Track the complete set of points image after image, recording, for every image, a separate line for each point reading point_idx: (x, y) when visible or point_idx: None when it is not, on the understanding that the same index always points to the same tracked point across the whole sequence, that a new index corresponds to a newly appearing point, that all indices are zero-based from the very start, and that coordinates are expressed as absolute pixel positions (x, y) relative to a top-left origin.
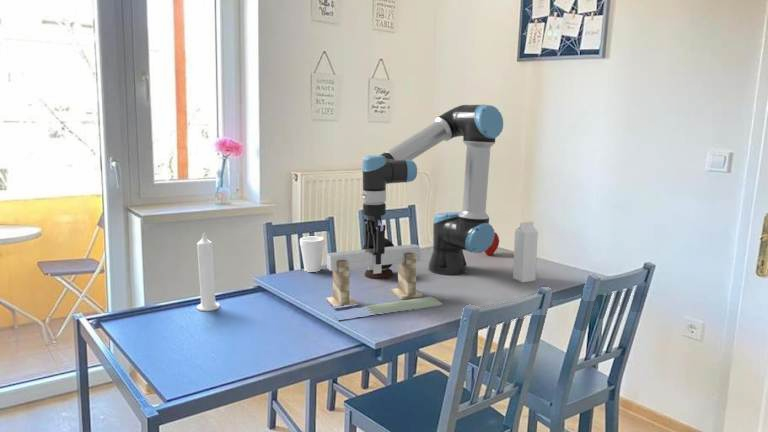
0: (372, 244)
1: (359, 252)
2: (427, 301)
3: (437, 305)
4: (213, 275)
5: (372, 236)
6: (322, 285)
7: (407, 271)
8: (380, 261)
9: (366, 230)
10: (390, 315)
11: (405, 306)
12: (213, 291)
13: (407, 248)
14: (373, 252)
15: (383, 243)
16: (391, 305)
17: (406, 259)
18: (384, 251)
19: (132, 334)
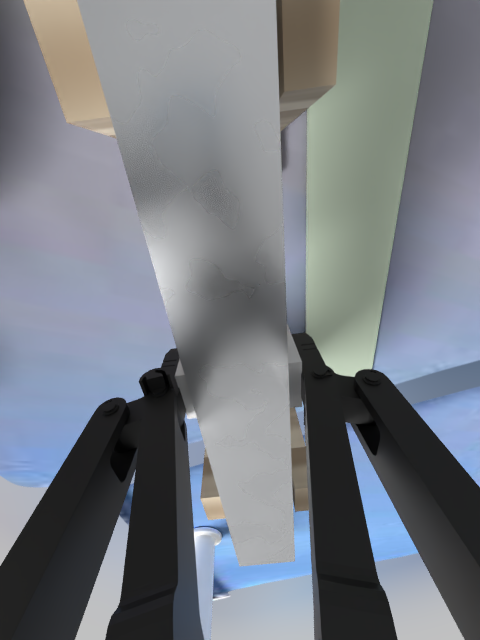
0: (179, 437)
1: (278, 482)
2: (367, 59)
3: (428, 19)
4: (201, 611)
5: (185, 530)
6: (79, 387)
7: (287, 121)
8: (315, 345)
9: (73, 635)
10: (403, 267)
11: (372, 195)
12: (207, 568)
13: (276, 27)
14: (288, 416)
15: (444, 459)
16: (339, 243)
17: (286, 104)
18: (390, 382)
19: (281, 573)
